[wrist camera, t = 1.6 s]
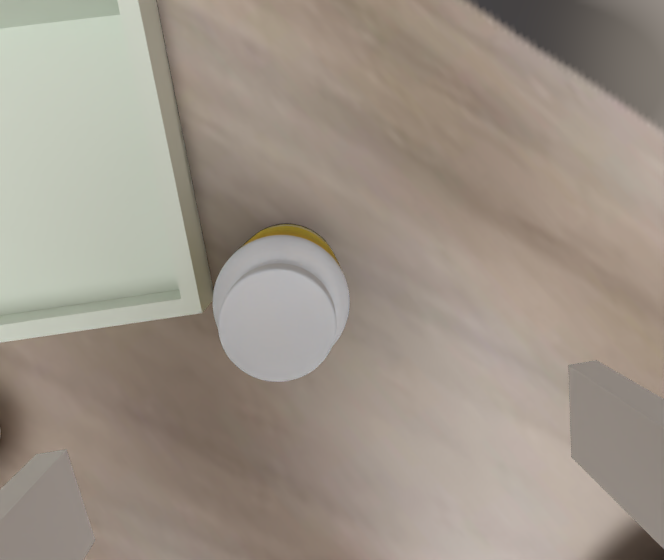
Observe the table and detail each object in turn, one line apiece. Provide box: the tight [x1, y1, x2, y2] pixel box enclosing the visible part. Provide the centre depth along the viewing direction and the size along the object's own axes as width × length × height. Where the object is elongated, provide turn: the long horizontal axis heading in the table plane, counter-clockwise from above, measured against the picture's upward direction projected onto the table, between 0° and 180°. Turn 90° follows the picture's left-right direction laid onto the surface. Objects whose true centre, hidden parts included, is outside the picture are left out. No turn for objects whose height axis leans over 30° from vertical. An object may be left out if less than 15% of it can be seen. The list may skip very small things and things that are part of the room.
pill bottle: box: [213, 224, 350, 382], centre depth 22 cm, size 6×6×12 cm
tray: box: [0, 0, 214, 343], centre depth 24 cm, size 18×18×4 cm
